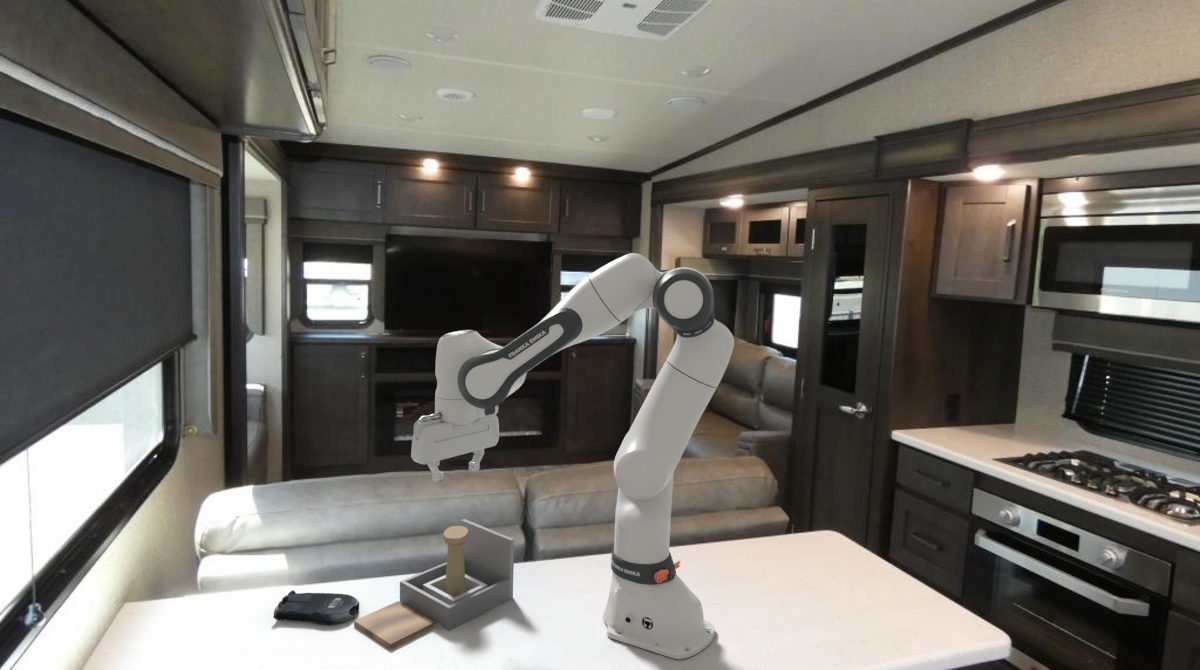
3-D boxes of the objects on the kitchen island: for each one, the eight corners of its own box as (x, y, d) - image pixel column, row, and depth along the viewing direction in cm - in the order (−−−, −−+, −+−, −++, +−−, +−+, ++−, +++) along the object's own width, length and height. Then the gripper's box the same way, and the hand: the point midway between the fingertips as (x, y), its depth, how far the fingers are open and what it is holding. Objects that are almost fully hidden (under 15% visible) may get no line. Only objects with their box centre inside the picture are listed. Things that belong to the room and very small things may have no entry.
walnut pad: (435, 626, 128) (435, 622, 128) (390, 649, 121) (390, 644, 120) (398, 605, 136) (398, 600, 136) (354, 625, 128) (354, 620, 128)
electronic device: (272, 634, 127) (349, 626, 127) (269, 605, 127) (346, 597, 127) (294, 615, 136) (366, 607, 136) (292, 588, 137) (364, 580, 137)
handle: (440, 608, 135) (441, 538, 134) (446, 592, 142) (447, 525, 140) (464, 608, 135) (465, 538, 134) (469, 593, 142) (469, 526, 140)
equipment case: (512, 597, 141) (514, 539, 139) (449, 630, 127) (449, 566, 126) (463, 573, 150) (464, 518, 149) (399, 602, 137) (399, 542, 136)
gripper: (424, 420, 124) (424, 491, 125) (504, 404, 140) (503, 467, 141) (404, 414, 128) (404, 483, 129) (484, 399, 144) (483, 461, 145)
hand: (456, 475), depth 136 cm, fingers open, 8 cm apart
